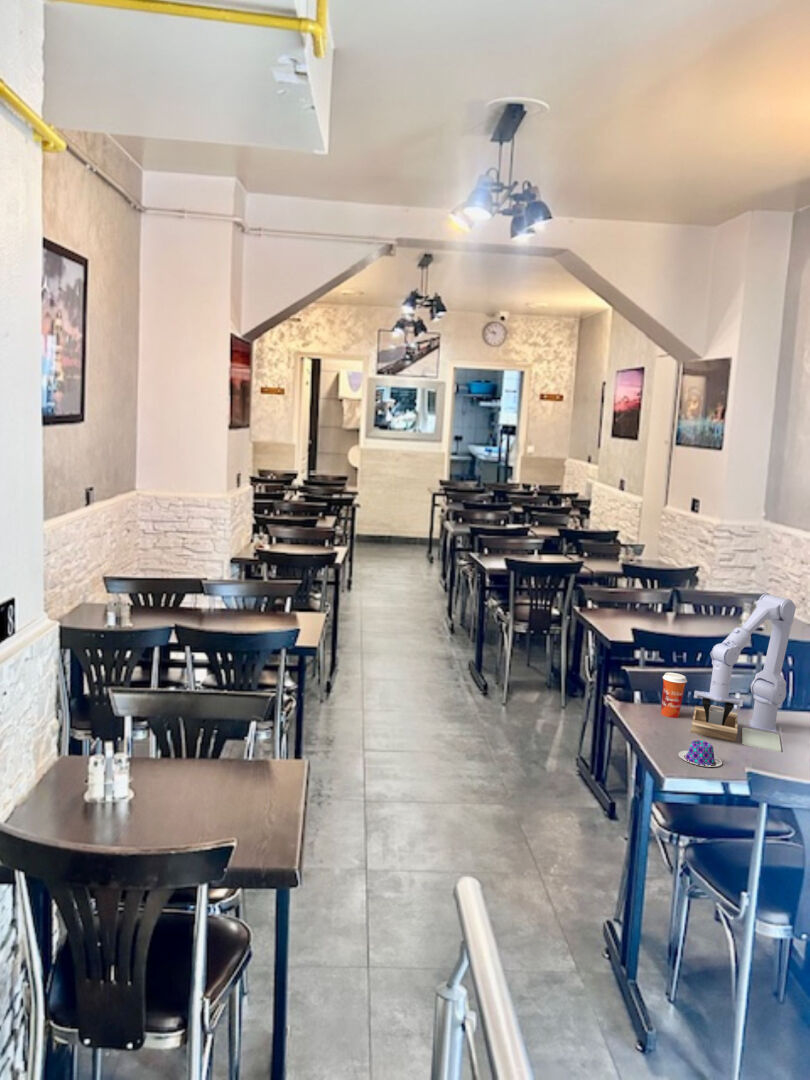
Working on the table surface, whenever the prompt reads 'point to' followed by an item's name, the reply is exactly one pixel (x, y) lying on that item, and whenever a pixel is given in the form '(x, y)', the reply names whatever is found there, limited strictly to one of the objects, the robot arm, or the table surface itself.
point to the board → (761, 739)
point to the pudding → (700, 754)
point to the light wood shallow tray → (714, 725)
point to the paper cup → (672, 694)
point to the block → (716, 715)
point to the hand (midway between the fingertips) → (714, 723)
